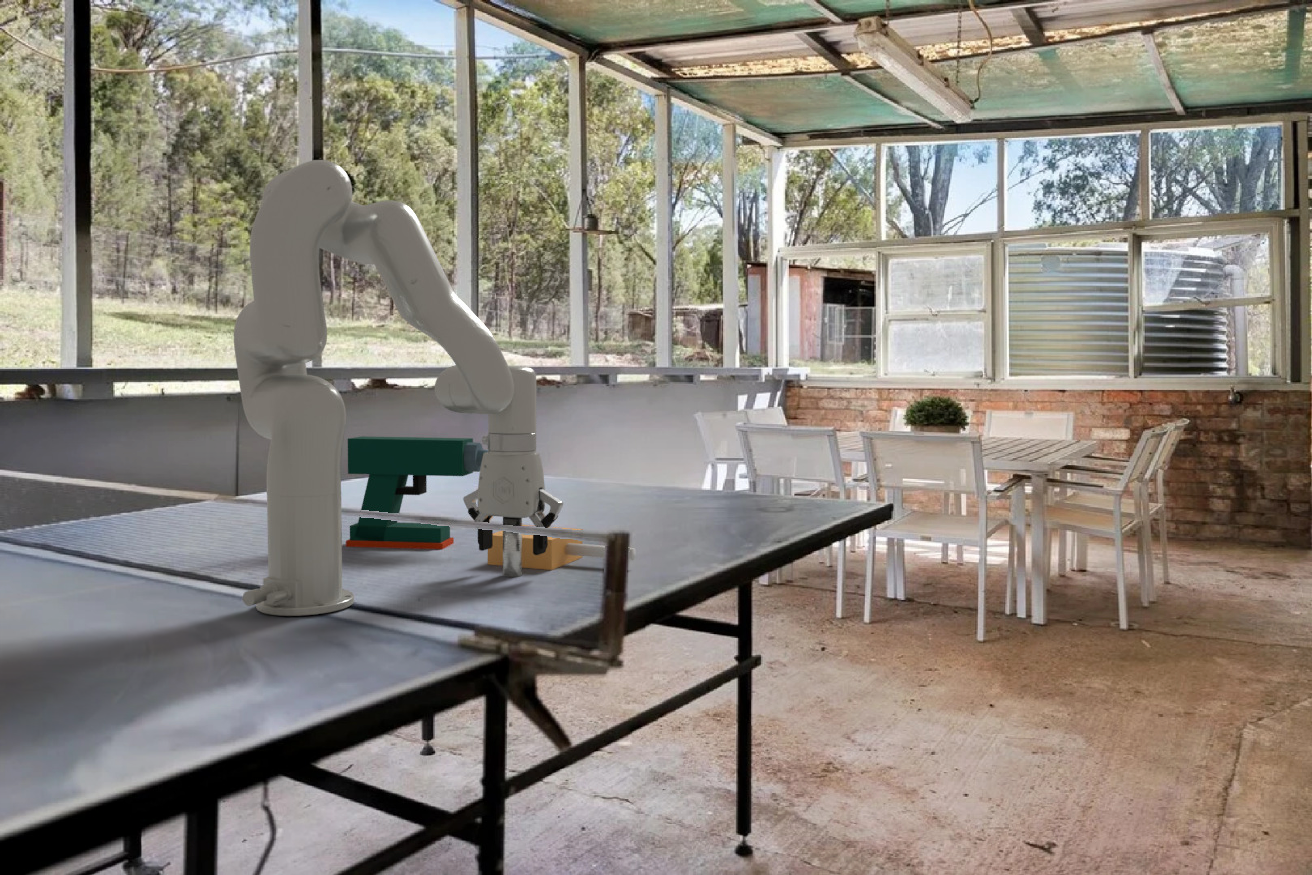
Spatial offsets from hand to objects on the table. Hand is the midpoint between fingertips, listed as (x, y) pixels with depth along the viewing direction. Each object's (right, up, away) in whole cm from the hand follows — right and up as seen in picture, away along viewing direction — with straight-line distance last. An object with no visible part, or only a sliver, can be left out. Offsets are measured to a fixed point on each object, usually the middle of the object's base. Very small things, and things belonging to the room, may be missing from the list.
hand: (512, 551), depth 153 cm
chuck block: (+8, -3, +10) cm, 13 cm away
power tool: (-18, -2, +26) cm, 32 cm away
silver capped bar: (0, -4, 0) cm, 4 cm away
